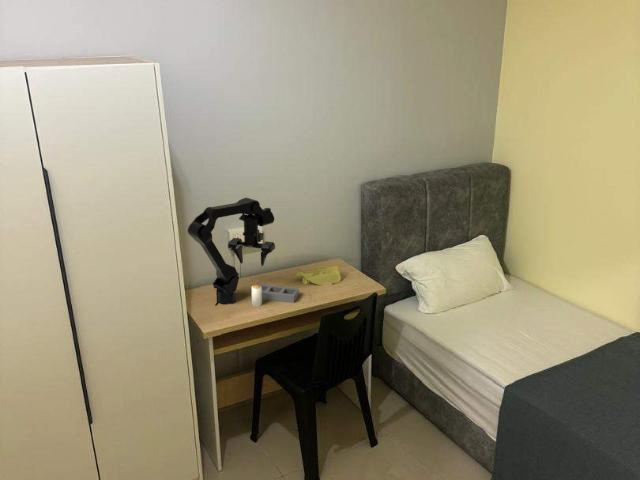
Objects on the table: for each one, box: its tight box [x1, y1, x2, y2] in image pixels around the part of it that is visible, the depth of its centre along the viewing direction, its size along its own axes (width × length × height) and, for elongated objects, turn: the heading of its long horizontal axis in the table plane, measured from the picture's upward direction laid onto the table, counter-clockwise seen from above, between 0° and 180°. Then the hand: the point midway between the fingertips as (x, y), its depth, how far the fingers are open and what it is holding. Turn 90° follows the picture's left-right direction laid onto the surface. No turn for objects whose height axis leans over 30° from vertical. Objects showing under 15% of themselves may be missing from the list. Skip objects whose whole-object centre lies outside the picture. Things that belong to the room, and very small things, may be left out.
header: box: [250, 283, 300, 304], centre depth 242 cm, size 18×8×4 cm, turn 77°
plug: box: [251, 284, 263, 307], centre depth 234 cm, size 4×4×8 cm
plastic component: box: [294, 265, 342, 286], centre depth 259 cm, size 20×7×10 cm
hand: (252, 264), depth 243 cm, fingers open, 9 cm apart
